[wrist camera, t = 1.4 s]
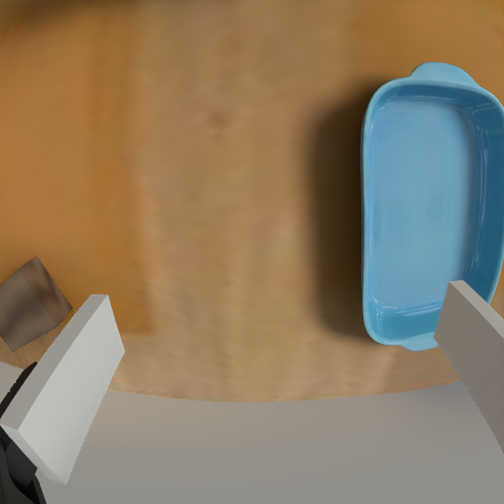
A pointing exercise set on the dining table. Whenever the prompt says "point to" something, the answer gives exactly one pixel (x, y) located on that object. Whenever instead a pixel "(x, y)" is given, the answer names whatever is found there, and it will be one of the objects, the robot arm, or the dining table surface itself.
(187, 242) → the dining table surface
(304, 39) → the dining table surface
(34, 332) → the walnut block
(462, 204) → the casserole dish
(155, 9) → the dining table surface
